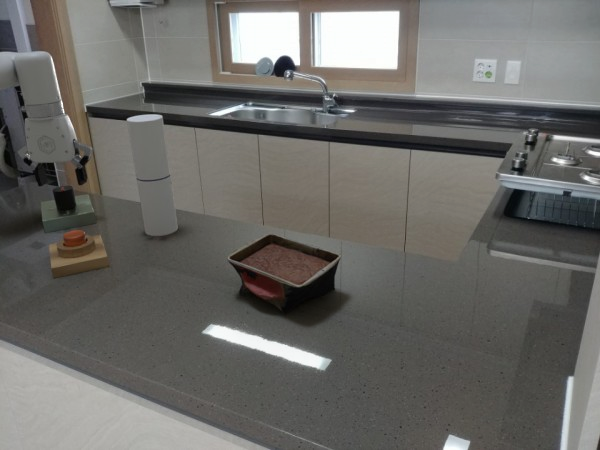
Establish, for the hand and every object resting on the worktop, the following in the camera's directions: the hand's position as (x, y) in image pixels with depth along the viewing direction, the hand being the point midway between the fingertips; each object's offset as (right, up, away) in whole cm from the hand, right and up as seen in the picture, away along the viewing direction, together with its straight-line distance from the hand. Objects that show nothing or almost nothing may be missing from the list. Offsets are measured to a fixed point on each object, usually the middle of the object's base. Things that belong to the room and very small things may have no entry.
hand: (63, 184), depth 125 cm
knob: (0, -5, +2) cm, 6 cm away
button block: (+11, -17, -18) cm, 27 cm away
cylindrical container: (+24, -11, -5) cm, 27 cm away
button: (+11, -13, -19) cm, 26 cm away
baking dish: (+53, -21, -33) cm, 66 cm away
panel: (0, -8, +3) cm, 9 cm away
